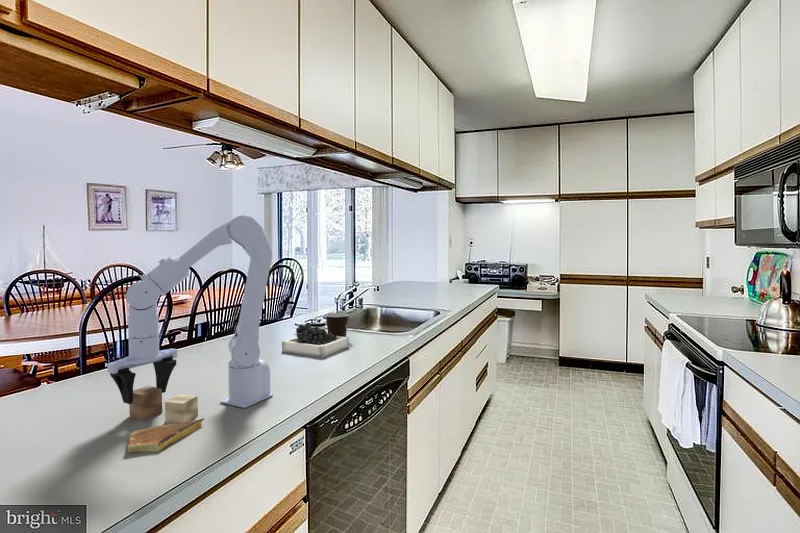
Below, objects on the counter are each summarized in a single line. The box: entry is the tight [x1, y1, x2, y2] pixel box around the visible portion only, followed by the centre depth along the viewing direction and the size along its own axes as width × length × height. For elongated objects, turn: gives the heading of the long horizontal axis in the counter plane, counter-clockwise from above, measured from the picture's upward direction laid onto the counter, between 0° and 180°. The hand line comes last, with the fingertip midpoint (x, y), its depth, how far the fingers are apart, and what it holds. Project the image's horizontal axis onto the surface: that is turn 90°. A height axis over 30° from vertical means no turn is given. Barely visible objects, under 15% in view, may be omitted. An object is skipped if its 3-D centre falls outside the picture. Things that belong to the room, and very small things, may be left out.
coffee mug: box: [325, 312, 349, 337], centre depth 169 cm, size 12×9×10 cm
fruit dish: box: [281, 335, 350, 358], centre depth 154 cm, size 16×17×4 cm
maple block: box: [164, 394, 199, 424], centre depth 94 cm, size 4×4×4 cm
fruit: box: [293, 323, 337, 345], centre depth 154 cm, size 9×8×15 cm
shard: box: [127, 418, 205, 454], centre depth 84 cm, size 13×9×2 cm
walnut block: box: [128, 385, 163, 421], centre depth 96 cm, size 4×4×6 cm
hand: (145, 397), depth 96 cm, fingers open, 7 cm apart
